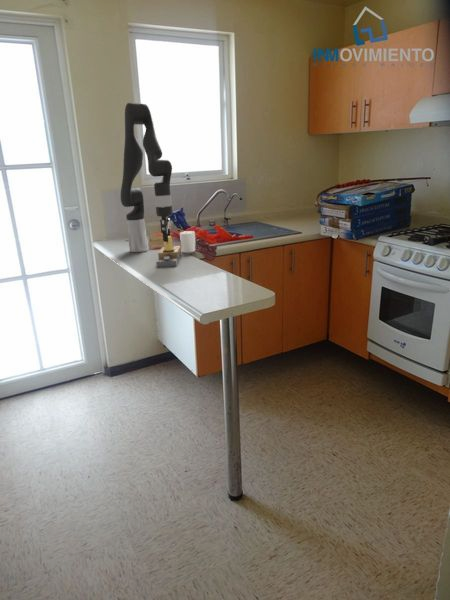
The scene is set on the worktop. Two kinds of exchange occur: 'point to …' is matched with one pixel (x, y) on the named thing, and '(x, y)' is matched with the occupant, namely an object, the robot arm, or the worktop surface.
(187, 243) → the white cup
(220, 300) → the worktop surface
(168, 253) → the tan and grey block
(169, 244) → the brass pin
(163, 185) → the robot arm
